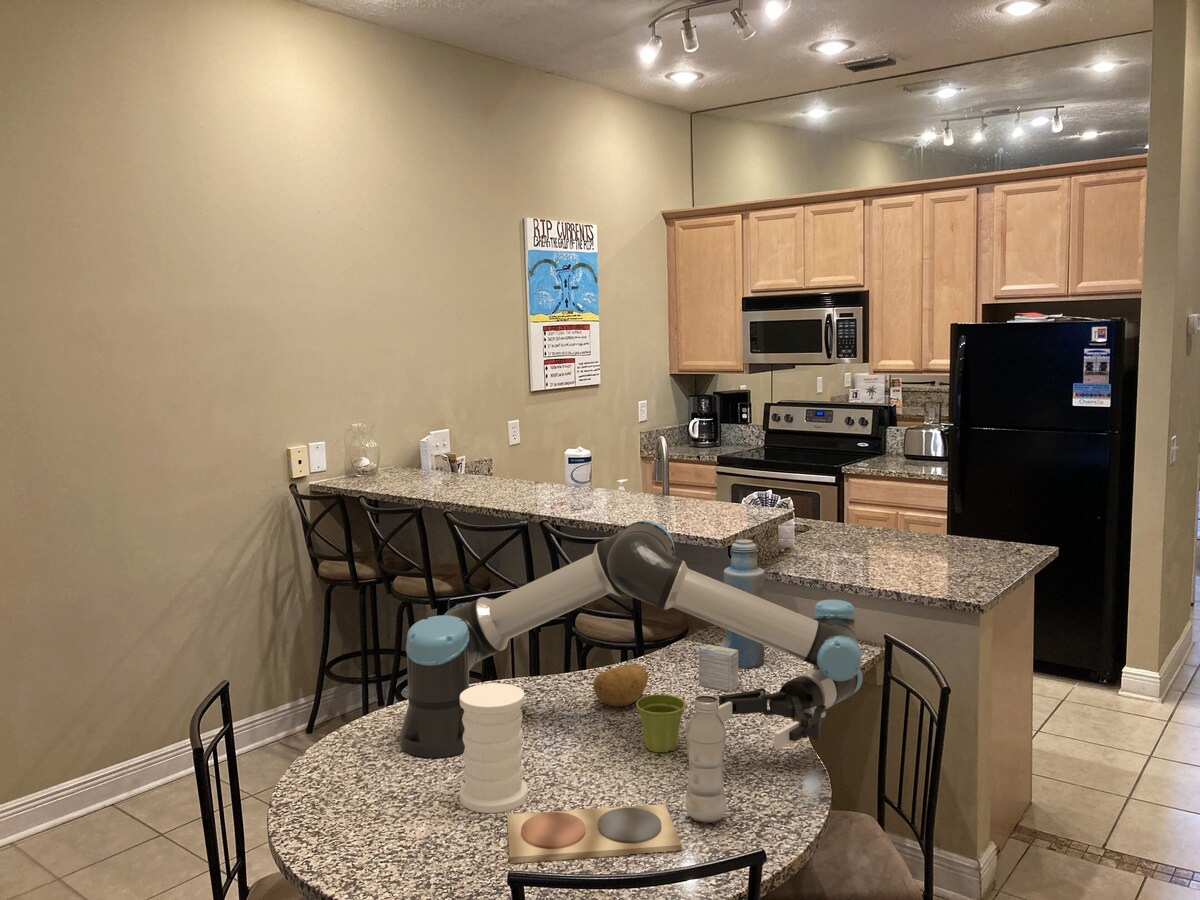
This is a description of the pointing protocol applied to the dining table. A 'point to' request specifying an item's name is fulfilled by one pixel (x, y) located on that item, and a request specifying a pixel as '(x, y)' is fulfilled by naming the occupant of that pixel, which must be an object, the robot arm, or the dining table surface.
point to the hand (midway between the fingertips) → (741, 730)
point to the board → (590, 833)
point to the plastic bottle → (705, 762)
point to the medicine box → (718, 667)
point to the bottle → (752, 582)
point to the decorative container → (492, 748)
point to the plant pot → (660, 721)
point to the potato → (621, 685)
